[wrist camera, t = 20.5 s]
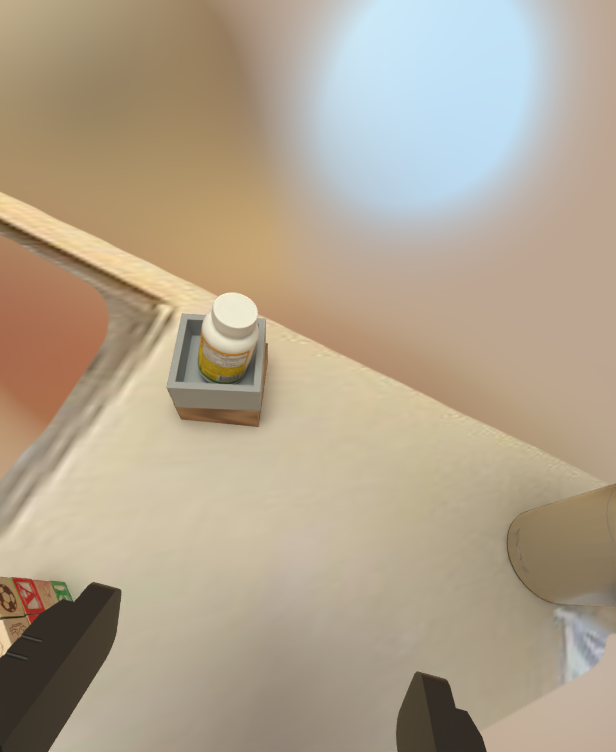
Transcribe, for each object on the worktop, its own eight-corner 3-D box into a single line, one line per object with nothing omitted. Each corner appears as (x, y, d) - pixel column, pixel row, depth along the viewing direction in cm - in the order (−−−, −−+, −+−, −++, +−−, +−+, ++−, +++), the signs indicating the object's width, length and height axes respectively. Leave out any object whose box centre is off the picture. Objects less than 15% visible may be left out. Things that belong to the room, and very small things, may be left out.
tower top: (265, 341, 47) (265, 318, 43) (260, 410, 42) (260, 392, 38) (189, 337, 46) (181, 313, 42) (175, 407, 42) (166, 387, 38)
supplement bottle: (226, 397, 40) (241, 345, 33) (185, 367, 41) (190, 309, 33) (256, 364, 44) (276, 310, 36) (218, 337, 44) (230, 277, 36)
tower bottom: (267, 362, 51) (267, 343, 47) (258, 427, 46) (257, 412, 42) (197, 355, 50) (191, 334, 46) (181, 419, 46) (173, 403, 42)
